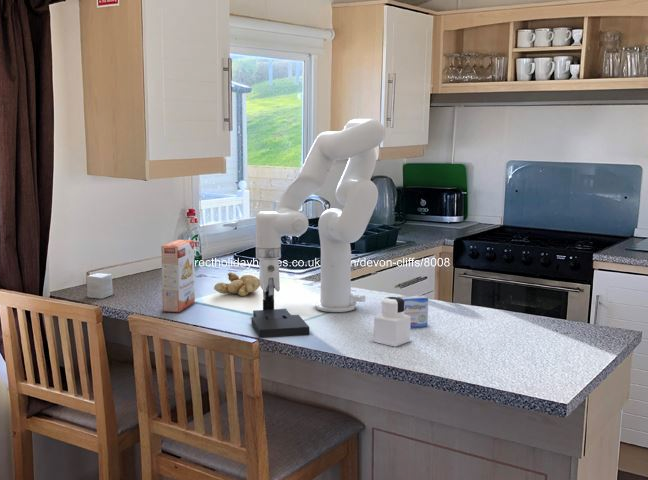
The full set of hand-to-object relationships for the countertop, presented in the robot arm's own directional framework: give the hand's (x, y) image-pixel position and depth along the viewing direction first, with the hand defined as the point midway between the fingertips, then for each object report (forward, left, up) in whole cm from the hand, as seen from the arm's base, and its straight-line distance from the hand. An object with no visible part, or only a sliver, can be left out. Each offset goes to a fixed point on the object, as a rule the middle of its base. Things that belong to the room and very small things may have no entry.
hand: (268, 312), depth 232 cm
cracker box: (+26, -17, -1) cm, 31 cm away
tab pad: (0, +7, -1) cm, 7 cm away
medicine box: (-38, +21, -1) cm, 44 cm away
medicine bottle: (-27, +35, -1) cm, 45 cm away
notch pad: (0, +16, -1) cm, 16 cm away
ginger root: (+4, -33, -1) cm, 33 cm away
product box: (+51, -39, -1) cm, 64 cm away
